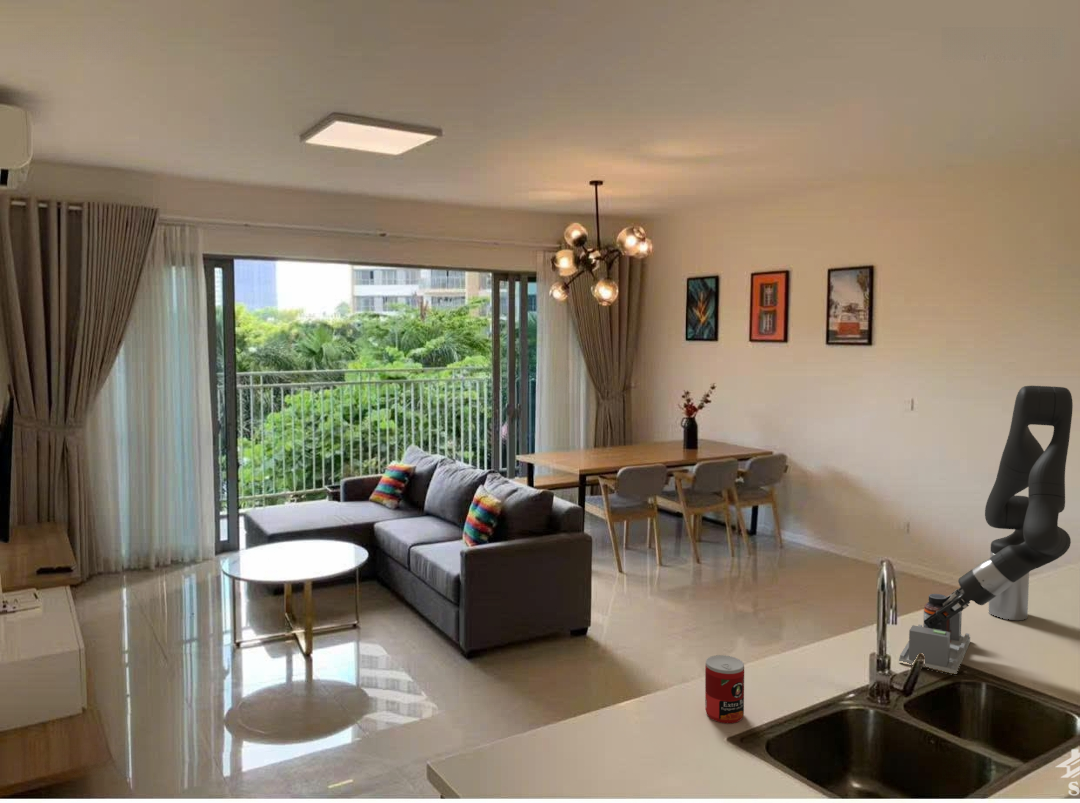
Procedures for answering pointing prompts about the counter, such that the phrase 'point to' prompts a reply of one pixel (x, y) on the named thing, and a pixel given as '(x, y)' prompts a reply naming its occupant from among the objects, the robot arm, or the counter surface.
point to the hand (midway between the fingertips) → (929, 620)
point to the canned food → (724, 688)
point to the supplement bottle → (933, 606)
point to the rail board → (937, 646)
